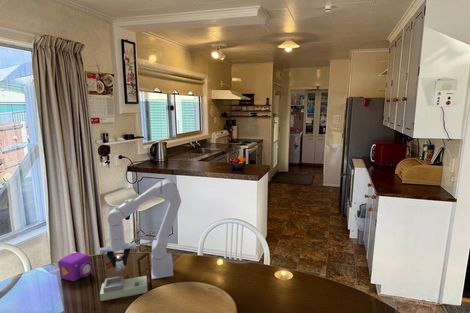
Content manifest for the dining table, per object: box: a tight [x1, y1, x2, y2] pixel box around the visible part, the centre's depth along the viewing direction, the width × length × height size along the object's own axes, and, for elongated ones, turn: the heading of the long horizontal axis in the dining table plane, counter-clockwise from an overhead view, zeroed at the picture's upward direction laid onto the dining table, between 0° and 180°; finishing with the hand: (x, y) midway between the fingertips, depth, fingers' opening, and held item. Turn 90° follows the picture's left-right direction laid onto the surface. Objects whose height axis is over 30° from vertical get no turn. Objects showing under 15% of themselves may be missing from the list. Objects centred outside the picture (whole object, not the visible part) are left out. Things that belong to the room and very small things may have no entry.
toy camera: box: [58, 251, 93, 282], centre depth 139 cm, size 11×14×10 cm
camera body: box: [99, 275, 148, 302], centre depth 127 cm, size 18×8×5 cm, turn 107°
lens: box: [114, 253, 126, 272], centre depth 134 cm, size 4×4×6 cm
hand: (120, 265), depth 134 cm, fingers closed on lens, 4 cm apart
